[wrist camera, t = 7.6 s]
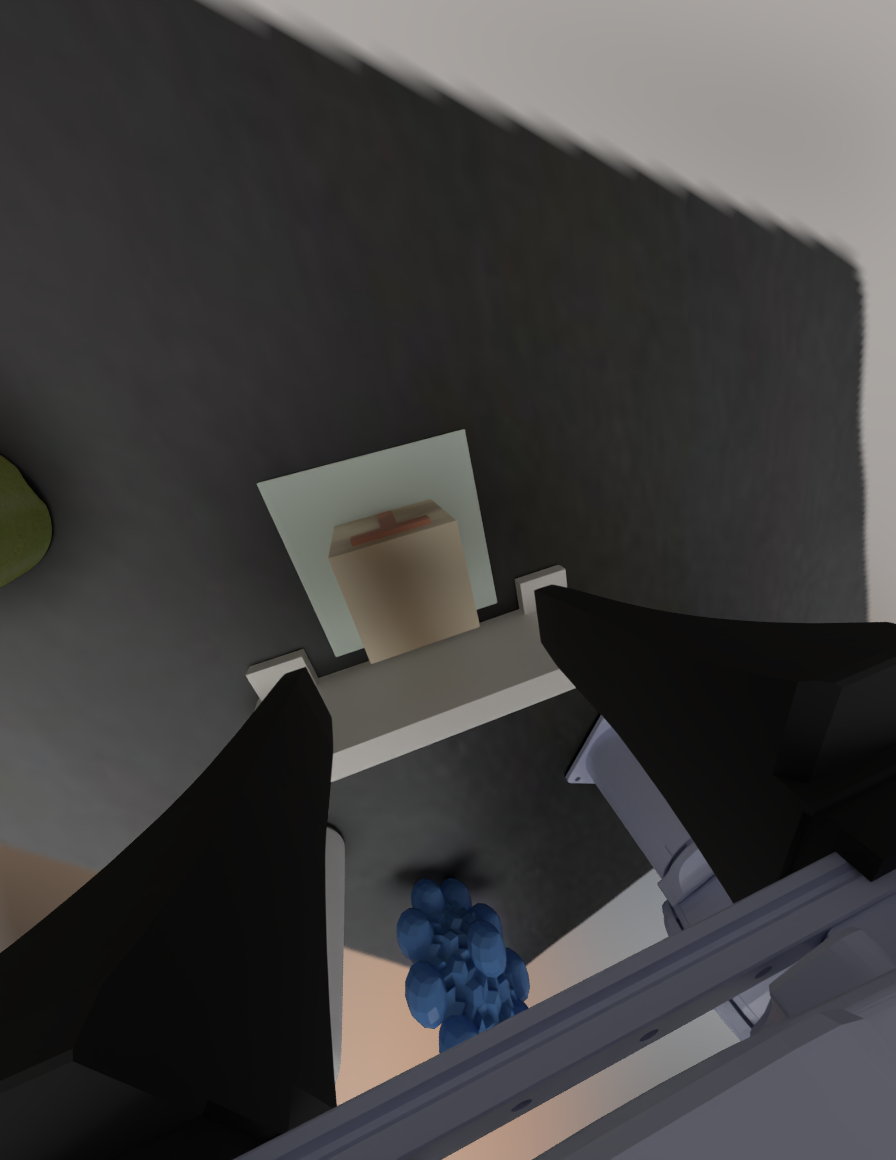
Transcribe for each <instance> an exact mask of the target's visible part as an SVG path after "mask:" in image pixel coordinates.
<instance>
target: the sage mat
mask: <svg viewBox="0 0 896 1160" xmlns="http://www.w3.org/2000/svg"><path fill="white" fill-rule="evenodd" d="M257 486H258V488H259V490H260V492H261V495H262V497H263V499H264V501H265V503H266V506H267V508H268V510H269V512H270V514H271V516H272V519H273V521H274V523H275V525H276V527H277V529H278V532H279V534H280V536H281V538H282V540H283V543H284V545H285V547H286V549H287V551H288V553H289V556H290V558H291V560H292V562H293V564H294V567H295V569H296V571H297V573H298V575H299V577H300V580H301V582H302V584H303V586H304V588H305V591H306V593H307V595H308V597H309V599H310V601H311V604H312V606H313V608H314V610H315V612H316V614H317V617H318V619H319V621H320V623H321V625H322V628H323V630H324V632H325V634H326V636H327V638H328V641H329V643H330V645H331V647H332V649H333V652H334V654H335V656H336V657H338V656H341V655H344V654H347V653H350V652H353V651H356V650H359V649H362V648H364V646H363V643H362V641H361V638H360V636H359V633H358V631H357V628H356V626H355V623H354V621H353V618H352V616H351V614H350V611H349V609H348V606H347V604H346V601H345V599H344V596H343V594H342V591H341V589H340V587H339V584H338V582H337V579H336V577H335V574H334V572H333V569H332V567H331V564H330V562H329V559H328V557H329V551H330V546H331V541H332V536H333V531H334V526H337V525H341V524H344V523H348V522H351V521H355V520H358V519H362V518H365V517H369V516H372V515H376V514H379V513H382V512H386V511H389V510H393V509H397V508H400V507H404V506H408V505H411V504H415V503H418V502H422V501H425V500H429V499H431V500H432V501H434V502H435V503H436V504H437V505H438V506H440V507H441V508H442V509H443V510H445V511H446V512H447V513H448V514H449V515H451V516H452V517H453V518H454V519H456V520H457V524H458V529H459V533H460V538H461V542H462V547H463V551H464V556H465V560H466V565H467V569H468V574H469V578H470V583H471V588H472V592H473V597H474V601H475V606H476V610H478V609H481V608H484V607H487V606H490V605H493V604H496V603H497V598H496V593H495V588H494V582H493V577H492V572H491V566H490V561H489V556H488V550H487V545H486V540H485V535H484V529H483V524H482V519H481V513H480V508H479V503H478V498H477V492H476V487H475V482H474V476H473V471H472V466H471V460H470V455H469V450H468V445H467V439H466V434H465V429H462V430H458V431H454V432H450V433H447V434H443V435H439V436H435V437H431V438H427V439H424V440H420V441H416V442H412V443H408V444H404V445H401V446H397V447H393V448H389V449H385V450H381V451H378V452H374V453H370V454H366V455H362V456H359V457H355V458H351V459H347V460H343V461H339V462H336V463H332V464H328V465H324V466H320V467H316V468H313V469H309V470H305V471H301V472H297V473H293V474H290V475H286V476H282V477H278V478H274V479H270V480H267V481H263V482H259V483H257Z"/></svg>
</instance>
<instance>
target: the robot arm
mask: <svg viewBox="0 0 896 1160" xmlns="http://www.w3.org/2000/svg"><path fill="white" fill-rule="evenodd" d="M534 595H535V602H536V610H537V617H538V625H539V633H540V640H541V643H542V645H543V646H544V648H545V650H546V651H547V653H548V654H549V656H550V657H551V658H552V660H553V661H554V663H555V664H556V665H557V667H558V668H559V669H560V670H561V671H562V673H563V674H564V675H565V676H566V677H567V678H568V679H569V680H570V681H571V683H572V684H573V685H574V686H575V687H576V688H577V689H578V690H579V691H580V692H581V693H582V695H583V696H584V697H585V698H586V699H587V700H588V701H589V702H590V703H591V704H592V706H593V707H594V708H595V709H596V710H597V711H598V712H599V713H600V714H601V716H600V717H599V719H598V721H597V723H596V724H595V726H594V728H593V729H592V731H591V733H590V735H589V736H588V738H587V740H586V742H585V743H584V745H583V747H582V749H581V750H580V752H579V754H578V756H577V757H576V759H575V761H574V763H573V764H572V766H571V768H570V769H569V771H568V773H567V775H566V779H567V781H568V782H569V783H593V784H596V785H597V787H598V788H599V790H600V791H601V793H602V794H603V795H604V797H605V798H606V800H607V801H608V803H609V804H610V806H611V807H612V808H613V810H614V811H615V813H616V814H617V816H618V817H619V818H620V820H621V821H622V823H623V824H624V826H625V827H626V828H627V830H628V831H629V833H630V834H631V836H632V837H633V839H634V840H635V841H636V843H637V844H638V846H639V847H640V849H641V850H642V851H643V853H644V854H645V856H646V857H647V859H648V860H649V861H650V863H651V864H652V866H653V867H654V869H655V870H656V871H657V873H658V874H659V876H660V877H661V879H662V880H661V881H660V882H658V886H659V888H660V889H661V891H662V892H663V894H664V895H665V897H666V898H667V900H666V901H665V902H664V904H663V905H662V909H663V914H664V923H665V927H666V931H667V933H668V936H669V937H667V938H665V939H663V940H662V941H660V942H658V943H656V944H654V945H652V946H650V947H648V948H646V949H644V950H642V951H640V952H638V953H636V954H634V955H632V956H630V957H628V958H626V959H624V960H623V961H620V962H619V963H617V964H615V965H613V966H611V967H609V968H607V969H605V970H603V971H601V972H599V973H597V974H595V975H593V976H591V977H589V978H587V979H585V980H583V981H582V982H579V983H578V984H576V985H573V986H572V987H570V988H568V989H566V990H564V991H562V992H560V993H558V994H556V995H554V996H552V997H550V998H548V999H546V1000H544V1001H542V1002H540V1003H538V1004H536V1005H534V1006H533V1007H530V1008H528V1009H527V1010H525V1011H523V1012H521V1013H519V1014H517V1015H515V1016H513V1017H511V1018H509V1019H507V1020H505V1021H503V1022H501V1023H499V1024H497V1025H495V1026H493V1027H491V1028H489V1029H487V1030H485V1031H483V1032H482V1033H480V1034H478V1035H476V1036H474V1037H472V1038H470V1039H468V1040H466V1041H464V1042H462V1043H460V1044H458V1045H456V1046H454V1047H452V1048H450V1049H448V1050H446V1051H444V1052H442V1053H440V1054H438V1055H437V1056H435V1057H433V1058H431V1059H429V1060H427V1061H425V1062H423V1063H421V1064H419V1065H417V1066H415V1067H413V1068H411V1069H409V1070H407V1071H405V1072H403V1073H401V1074H400V1075H398V1076H395V1077H393V1078H392V1079H390V1080H388V1081H386V1082H384V1083H382V1084H380V1085H378V1086H376V1087H374V1088H372V1089H370V1090H368V1091H366V1092H364V1093H362V1094H360V1095H358V1096H356V1097H354V1098H353V1099H350V1100H348V1101H346V1102H345V1103H343V1104H341V1105H339V1106H337V1104H336V1091H335V1078H334V1064H333V1049H332V1034H331V1020H330V1002H329V981H328V960H327V931H326V882H325V849H326V830H327V819H328V808H329V797H330V786H331V775H332V763H333V728H332V717H331V715H330V713H329V711H328V709H327V707H326V705H325V703H324V701H323V699H322V697H321V695H320V693H319V691H318V689H317V687H316V685H315V683H314V681H313V679H312V677H311V675H310V673H309V672H308V670H307V668H306V667H303V668H300V669H297V670H294V671H291V672H288V673H285V674H284V675H283V676H282V677H281V678H280V680H279V681H278V682H277V683H276V684H275V686H274V687H273V688H272V689H271V691H270V692H269V693H268V694H267V696H266V697H265V698H264V700H263V701H262V702H261V703H260V705H259V706H258V707H257V709H256V710H255V711H254V712H253V714H252V715H251V716H250V717H249V719H248V720H247V721H246V722H245V724H244V725H243V726H242V727H241V729H240V730H239V731H238V732H237V734H236V735H235V736H234V737H233V738H232V739H231V741H230V742H229V743H228V744H227V745H226V746H225V748H224V749H223V750H222V751H221V752H220V753H219V755H218V756H217V757H216V758H215V759H214V760H213V762H212V763H211V764H210V765H209V766H208V767H207V768H206V770H205V771H204V772H203V773H202V774H201V775H200V776H199V777H198V778H197V779H196V780H195V781H194V783H193V784H192V785H191V786H190V787H189V788H188V789H187V790H186V791H185V792H184V793H183V794H182V795H181V796H180V797H179V798H178V799H177V800H176V801H175V802H174V803H173V804H172V805H171V806H170V807H169V808H168V809H167V810H166V811H165V812H164V813H163V814H162V815H161V816H160V817H159V818H158V819H157V820H156V821H155V822H154V823H152V824H151V825H150V826H149V827H148V828H147V829H146V830H145V831H144V832H143V833H142V834H141V835H139V836H138V837H137V838H136V839H135V840H134V841H133V842H132V843H131V844H130V845H129V846H128V847H126V848H125V849H124V850H123V851H122V852H121V853H120V854H119V855H118V856H117V857H116V858H115V859H114V860H112V861H111V862H110V863H109V864H108V865H107V866H106V867H104V868H103V869H102V870H101V871H100V872H99V873H98V874H96V875H95V876H94V877H93V878H92V879H91V880H89V881H88V882H87V883H86V884H85V885H84V886H83V887H81V888H80V889H79V890H78V891H77V892H75V893H74V894H73V895H72V896H71V897H69V898H68V899H67V900H66V901H65V902H63V903H62V904H61V905H60V906H58V907H57V908H56V909H55V910H54V911H52V912H51V913H50V914H49V915H48V916H46V917H45V918H44V919H43V920H42V921H40V922H39V923H38V924H37V925H35V926H34V927H33V928H32V929H30V930H29V931H28V932H27V933H25V934H24V935H23V936H22V937H21V938H19V939H18V940H17V941H15V942H14V943H13V944H12V945H10V946H9V947H8V948H6V949H5V950H4V951H2V952H1V953H0V1160H441V1159H443V1158H445V1157H447V1156H448V1155H451V1154H452V1153H454V1152H456V1151H458V1150H459V1149H461V1148H463V1147H465V1146H467V1145H468V1144H470V1143H472V1142H474V1141H476V1140H477V1139H479V1138H481V1137H483V1136H485V1135H487V1134H488V1133H490V1132H492V1131H494V1130H496V1129H497V1128H499V1127H501V1126H503V1125H505V1124H506V1123H508V1122H510V1121H512V1120H514V1119H515V1118H517V1117H519V1116H521V1115H523V1114H525V1113H526V1112H528V1111H530V1110H532V1109H533V1108H535V1107H537V1106H539V1105H541V1104H542V1103H544V1102H546V1101H548V1100H550V1099H551V1098H553V1097H555V1096H557V1095H559V1094H561V1093H562V1092H564V1091H566V1090H568V1089H570V1088H571V1087H573V1086H575V1085H577V1084H579V1083H580V1082H582V1081H584V1080H586V1079H588V1078H589V1077H591V1076H593V1075H595V1074H597V1073H598V1072H600V1071H602V1070H604V1069H606V1068H607V1067H609V1066H611V1065H613V1064H614V1063H616V1062H618V1061H620V1060H622V1059H624V1058H626V1057H627V1056H629V1055H631V1054H633V1053H634V1052H636V1051H638V1050H640V1049H642V1048H644V1047H645V1046H647V1045H649V1044H651V1043H653V1042H654V1041H656V1040H658V1039H660V1038H662V1037H663V1036H665V1035H667V1034H669V1033H671V1032H672V1031H674V1030H676V1029H678V1028H680V1027H681V1026H683V1025H685V1024H687V1023H688V1022H690V1021H692V1020H694V1019H696V1018H697V1017H699V1016H701V1015H703V1014H705V1013H706V1012H708V1011H710V1010H712V1009H714V1010H715V1011H716V1012H717V1013H718V1015H719V1016H720V1017H721V1019H723V1021H724V1022H725V1023H726V1025H727V1026H728V1027H729V1028H730V1029H731V1030H732V1032H734V1034H735V1035H736V1036H737V1037H738V1038H739V1040H740V1041H741V1042H739V1043H736V1044H735V1045H733V1046H730V1047H728V1048H726V1049H724V1050H722V1051H720V1052H718V1053H717V1054H715V1055H713V1056H711V1057H709V1058H707V1059H705V1060H703V1061H702V1062H700V1063H698V1064H696V1065H694V1066H692V1067H690V1068H689V1069H687V1070H685V1071H683V1072H681V1073H679V1074H677V1075H675V1076H674V1077H672V1078H670V1079H668V1080H666V1081H665V1082H662V1083H661V1084H659V1085H657V1086H655V1087H654V1088H652V1089H650V1090H648V1091H647V1092H645V1093H643V1094H641V1095H640V1096H638V1097H636V1098H634V1099H633V1100H631V1101H629V1102H627V1103H626V1104H624V1105H622V1106H621V1107H619V1108H617V1109H615V1110H614V1111H612V1112H610V1113H608V1114H607V1115H605V1116H603V1117H601V1118H600V1119H598V1120H596V1121H595V1122H593V1123H591V1124H590V1125H588V1126H586V1127H585V1128H583V1129H581V1130H580V1131H578V1132H576V1133H575V1134H573V1135H572V1136H570V1137H568V1138H567V1139H565V1140H563V1141H562V1142H561V1143H559V1144H557V1145H555V1146H554V1147H552V1148H550V1149H549V1150H547V1151H545V1152H544V1153H542V1154H541V1155H539V1156H537V1157H536V1158H534V1159H532V1160H896V624H894V623H889V622H866V623H776V622H755V621H740V620H729V619H717V618H708V617H699V616H692V615H685V614H678V613H672V612H665V611H660V610H654V609H650V608H645V607H640V606H636V605H631V604H627V603H623V602H619V601H615V600H611V599H607V598H603V597H599V596H596V595H592V594H588V593H585V592H581V591H578V590H574V589H570V588H566V587H562V586H558V585H553V584H551V585H548V586H545V587H542V588H539V589H536V590H534Z"/></svg>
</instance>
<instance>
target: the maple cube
mask: <svg viewBox="0 0 896 1160" xmlns="http://www.w3.org/2000/svg"><path fill="white" fill-rule="evenodd" d="M328 559H329V562H330V564H331V567H332V569H333V572H334V574H335V577H336V579H337V582H338V584H339V587H340V589H341V591H342V594H343V596H344V599H345V601H346V604H347V606H348V609H349V611H350V614H351V616H352V618H353V621H354V623H355V626H356V628H357V631H358V633H359V636H360V638H361V641H362V643H363V646H364V648H365V650H366V653H367V655H368V658H369V660H370V663H371V664H373V663H376V662H379V661H382V660H385V659H388V658H391V657H394V656H397V655H400V654H403V653H405V652H408V651H411V650H414V649H417V648H420V647H423V646H426V645H429V644H432V643H434V642H437V641H440V640H443V639H446V638H449V637H452V636H455V635H458V634H461V633H464V632H466V631H469V630H472V629H475V628H478V627H480V624H479V619H478V615H477V610H476V606H475V601H474V597H473V592H472V588H471V583H470V578H469V574H468V569H467V565H466V560H465V556H464V551H463V547H462V542H461V538H460V533H459V529H458V524H457V520H456V519H454V518H453V517H452V516H451V515H449V514H448V513H447V512H446V511H445V510H443V509H442V508H441V507H440V506H438V505H437V504H436V503H435V502H434V501H432V500H431V499H429V500H425V501H422V502H418V503H415V504H411V505H408V506H404V507H400V508H397V509H393V510H389V511H386V512H382V513H379V514H376V515H372V516H369V517H365V518H362V519H358V520H355V521H351V522H348V523H344V524H341V525H337V526H334V531H333V536H332V541H331V546H330V551H329V557H328Z"/></svg>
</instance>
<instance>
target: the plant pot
mask: <svg viewBox="0 0 896 1160" xmlns="http://www.w3.org/2000/svg"><path fill="white" fill-rule="evenodd" d="M51 536H52V525H51V518H50V515H49V511H48V509H47V506H46V505H45V503H44V502H43V501H41V500H40V499H39V497H38V496H37V495H36V494H35V493H34V492H33V490H32V489H31V488H30V487H29V486H28V484H27V483H26V482H25V480H24V479H23V477H22V475H21V473H20V472H19V470H18V469H17V468H16V467H15V466H14V465H13V464H12V463H10V462H9V461H8V460H7V459H5V458H4V457H2V456H1V455H0V588H1V587H3V586H4V585H6V584H8V583H9V582H11V581H13V580H14V579H16V578H17V577H19V576H21V575H22V574H24V573H25V572H27V571H28V570H30V569H31V568H33V567H34V566H35V565H36V564H37V563H38V562H39V561H40V560H41V559H42V558H43V556H44V555H45V553H46V551H47V550H48V547H49V544H50V542H51Z"/></svg>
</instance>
